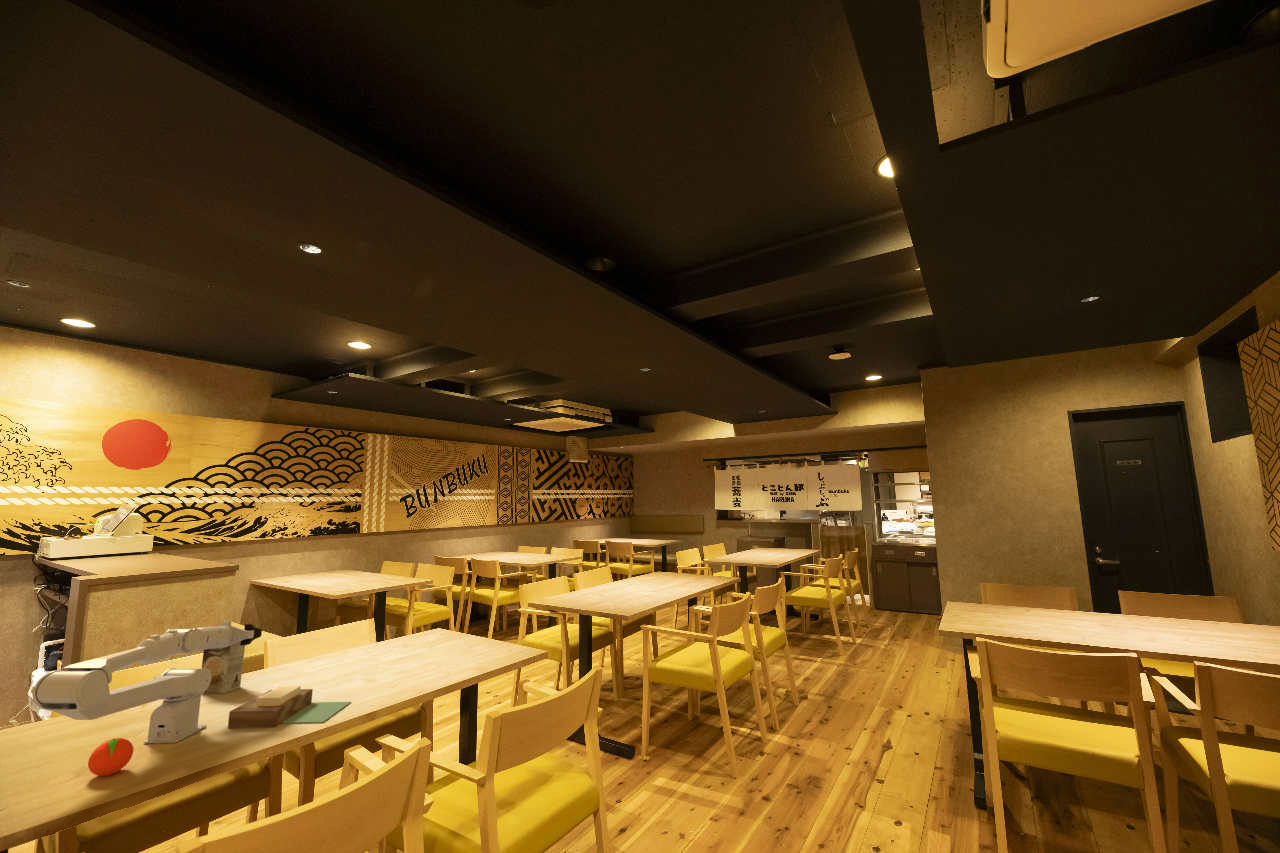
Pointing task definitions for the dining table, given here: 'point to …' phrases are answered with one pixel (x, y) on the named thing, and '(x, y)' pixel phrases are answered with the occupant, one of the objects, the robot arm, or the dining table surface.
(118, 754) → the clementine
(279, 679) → the dining table surface
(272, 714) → the brown wooden block
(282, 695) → the tile
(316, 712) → the mat
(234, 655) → the coffee box
